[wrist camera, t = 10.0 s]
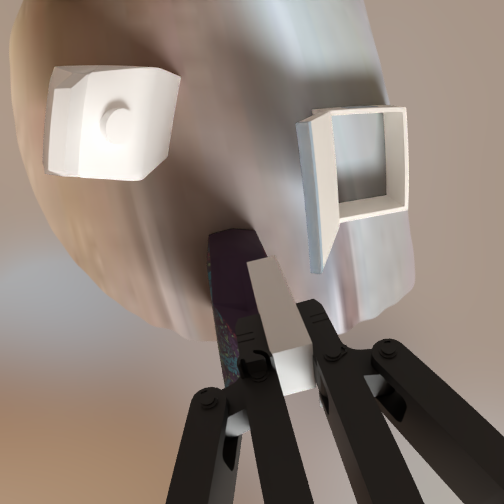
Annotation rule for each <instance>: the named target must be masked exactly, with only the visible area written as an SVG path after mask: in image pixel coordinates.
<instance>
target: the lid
mask: <svg viewBox="0 0 504 504" xmlns="http://www.w3.org/2000/svg"><path fill="white" fill-rule="evenodd" d="M296 130H297V138H298V146H299V155H300V163H301V172H302V181H303V190H304V200H305V211H306V221H307V233H308V244H309V257H310V271H311V273H316V274H322V271H323V268H324V266H325V263H326V261H327V258H328V255H329V253H330V250H331V248H332V245H333V242H334V240H335V237H336V234H337V232H338V229H339V226H340V223H339V202H338V186H337V172H336V159H335V148H334V137H333V127H332V118H331V111H325V112H320V113H318V114H315V115H313V116H311V117H308V118H306V119H304V120H302V121H299V122H297V123H296Z"/></svg>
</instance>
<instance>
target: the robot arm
mask: <svg viewBox="0 0 504 504" xmlns="http://www.w3.org/2000/svg"><path fill="white" fill-rule="evenodd" d="M247 266H248V270H249V274H250V279H251V283H252V287H253V291H254V295H255V300H256V304H257V308H258V311H259V314H255V315H251V316H247V317H243V318H239V319H238V320H237V323H236V326H235V331H236V337H237V343H238V350H239V357H238V359H237V368H238V371H239V373H240V376H239V378H238V379H237V380H236V381H235V382H234V383H233V384H231V385H230V386H228V387H226V388H224V389H222V390H220V389H219V388H215V387H208V388H204V389H202V390H200V391H198V392H197V393H196V394H195V395H194V396H193V399H192V400H191V404H190V408H189V412H188V416H187V420H186V423H185V427H184V431H183V435H182V439H181V443H180V447H179V451H178V455H177V459H176V463H175V467H174V471H173V475H172V479H171V483H170V487H169V491H168V496H167V499H166V504H233V498H234V492H235V484H236V477H237V470H238V462H239V455H240V447H241V440H242V433H244V432H246V431H248V430H250V431H251V436H252V442H253V447H254V453H255V458H256V463H257V468H258V474H259V479H260V484H261V489H262V494H263V499H264V504H314V502H313V498H312V495H311V491H310V489H309V485H308V481H307V477H306V474H305V471H304V467H303V463H302V460H301V456H300V453H299V449H298V446H297V442H296V438H295V435H294V431H293V428H292V424H291V421H290V417H289V414H288V410H287V406H286V403H285V399H284V396H285V395H289V394H293V393H297V392H300V391H304V390H308V389H311V388H314V387H316V383H317V386H318V389H319V397H320V407H323V408H324V411H325V414H326V417H327V419H328V422H329V425H330V428H331V430H332V433H333V436H334V438H335V442H336V444H337V447H338V450H339V453H340V455H341V458H342V461H343V464H344V466H345V470H346V472H347V475H348V478H349V481H350V484H351V487H352V489H353V492H354V495H355V498H356V501H357V504H424V502H423V500H422V498H421V495H420V493H419V491H418V489H417V486H416V484H415V482H414V480H413V478H412V475H411V473H410V471H409V469H408V467H407V465H406V462H405V460H404V458H403V456H402V454H401V452H400V449H399V447H398V445H397V443H396V441H395V439H394V437H393V435H392V433H391V431H390V428H389V427H388V424H387V422H386V420H385V418H384V416H383V414H384V415H385V416H386V417H387V418H388V420H389V421H390V422H391V423H392V424H393V425H394V426H395V427H396V428H397V429H398V431H399V432H400V433H401V434H402V435H403V436H404V437H405V439H406V440H407V441H408V442H409V443H410V444H411V445H412V446H413V448H414V449H415V450H416V451H417V452H418V453H419V454H420V455H421V456H422V458H423V459H424V460H425V461H426V462H427V463H428V464H429V465H430V466H431V467H432V469H433V470H434V471H435V472H436V473H437V474H438V475H439V476H440V478H441V479H442V480H443V481H444V482H445V483H446V484H447V485H448V486H449V487H450V489H451V490H452V491H453V492H454V493H455V494H456V495H457V496H458V497H459V499H460V500H461V501H462V502H463V503H464V504H504V437H503V436H502V435H501V434H500V433H499V432H498V431H497V430H496V429H495V428H494V427H493V426H492V425H491V424H490V423H489V422H488V421H487V420H486V419H484V418H483V417H482V416H481V415H480V414H479V413H478V412H477V411H476V410H475V409H474V408H473V407H472V406H470V405H469V404H468V403H467V402H466V401H465V400H464V399H463V398H462V397H461V396H460V395H459V394H457V393H456V392H455V391H454V390H453V389H452V388H451V387H450V386H449V385H448V384H447V383H445V382H444V381H443V380H442V379H441V378H440V377H439V376H437V374H435V373H434V372H433V371H432V370H431V369H430V368H429V367H428V366H427V365H425V364H424V363H423V362H422V361H421V360H420V359H419V358H417V357H416V356H415V355H414V354H413V353H412V352H411V351H410V350H409V349H407V348H406V347H405V346H404V345H403V344H402V343H400V342H399V341H397V340H394V339H383V340H381V341H378V342H377V343H375V345H373V348H372V349H365V350H355V349H351V348H349V347H347V346H346V345H344V344H343V343H342V342H341V341H340V339H339V337H338V335H337V333H336V331H335V329H334V327H333V325H332V323H331V321H330V319H329V317H328V315H327V314H326V312H325V310H324V308H323V306H322V304H321V303H319V302H318V301H316V300H315V299H311V300H307V301H303V302H300V303H295V301H294V299H293V296H292V294H291V292H290V289H289V287H288V285H287V282H286V280H285V278H284V275H283V273H282V271H281V268H280V266H279V264H278V261H277V259H276V257H275V256H271V257H267V258H262V259H258V260H254V261H250V262H247ZM382 413H383V414H382Z"/></svg>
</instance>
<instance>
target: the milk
mask: <svg viewBox="0 0 504 504" xmlns="http://www.w3.org/2000/svg"><path fill="white" fill-rule="evenodd" d="M180 80H181V77H180V76H178V75H176V74H173V73H171V72H168V71H166V70H163V69H161V68H156V67H141V66H117V65H77V66H55V67H54V70H53V72H52V75H51V78H50V82H49V89H48V97H47V105H46V115H45V126H44V140H43V166H44V172H45V174H49V175H57V176H71V177H81V178H97V179H113V180H127V181H138V180H142V179H144V178H145V177H146V176H147V175H148V174H149V173H150V172H151V171H153V170H154V169H155V168H156V167H157V166H158V165H159V164H160V163H161V162H163V161H164V160H165V159H166V158H167V157H168V152H169V145H170V138H171V132H172V125H173V119H174V113H175V107H176V101H177V96H178V90H179V85H180Z"/></svg>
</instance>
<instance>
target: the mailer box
mask: <svg viewBox="0 0 504 504" xmlns="http://www.w3.org/2000/svg"><path fill="white" fill-rule="evenodd" d="M325 111H331V116H334V115H347V114H361V113H381V112H383V120H384V134H385V154H386V195H384V196H378V197H372V198H366V199H360V200H354V201H348V202H342V203H339V223H342V222H347V221H352V220H357V219H363V218H368V217H373V216H378V215H384V214H389V213H394V212H400V211H405V210H408V189H409V175H408V174H409V163H408V162H409V161H408V130H407V113H406V107H399V106H391V105H368V106H349V107H335V108H322V109H312V116H313V115H315V114H318V113H320V112H325ZM331 118H332V117H331ZM333 137H334V136H333ZM334 148H335V147H334ZM335 159H336V158H335ZM336 172H337V171H336ZM337 186H338V185H337ZM338 202H339V201H338Z"/></svg>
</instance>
